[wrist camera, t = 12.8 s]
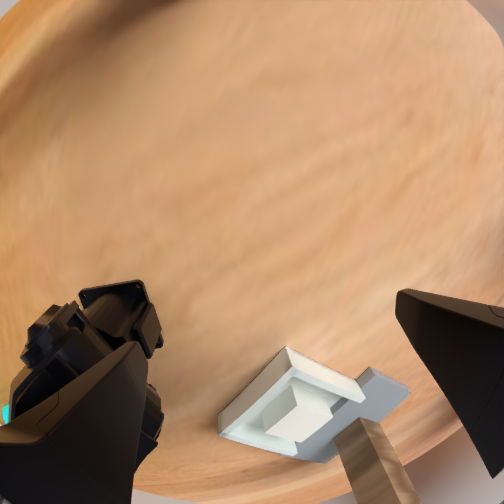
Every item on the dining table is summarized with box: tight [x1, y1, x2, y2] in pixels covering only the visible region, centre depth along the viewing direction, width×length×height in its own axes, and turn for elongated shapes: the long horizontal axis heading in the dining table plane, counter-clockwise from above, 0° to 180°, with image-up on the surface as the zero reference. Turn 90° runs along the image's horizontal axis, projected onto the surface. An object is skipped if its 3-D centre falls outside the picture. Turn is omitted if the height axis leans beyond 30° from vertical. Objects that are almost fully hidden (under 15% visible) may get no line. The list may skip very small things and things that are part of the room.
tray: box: [218, 346, 366, 456], centre depth 25 cm, size 10×12×3 cm
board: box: [279, 367, 411, 463], centre depth 28 cm, size 8×16×2 cm, turn 144°
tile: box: [261, 385, 333, 443], centre depth 25 cm, size 5×5×3 cm
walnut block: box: [333, 417, 422, 504], centre depth 21 cm, size 4×4×15 cm
